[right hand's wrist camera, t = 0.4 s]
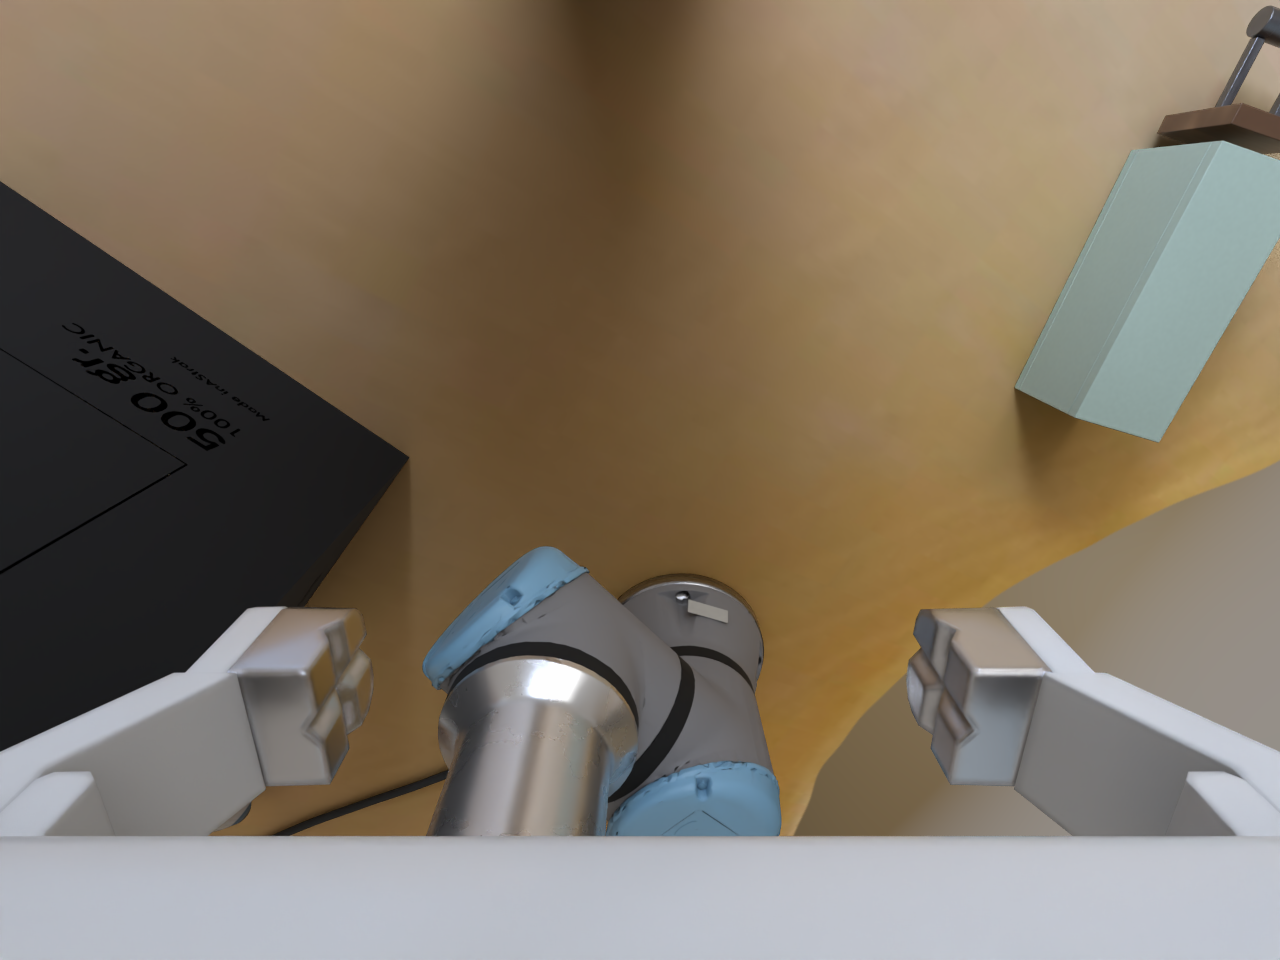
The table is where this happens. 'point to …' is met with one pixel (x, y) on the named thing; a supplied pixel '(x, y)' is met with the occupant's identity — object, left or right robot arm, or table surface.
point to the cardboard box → (146, 479)
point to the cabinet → (1156, 285)
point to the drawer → (1237, 120)
